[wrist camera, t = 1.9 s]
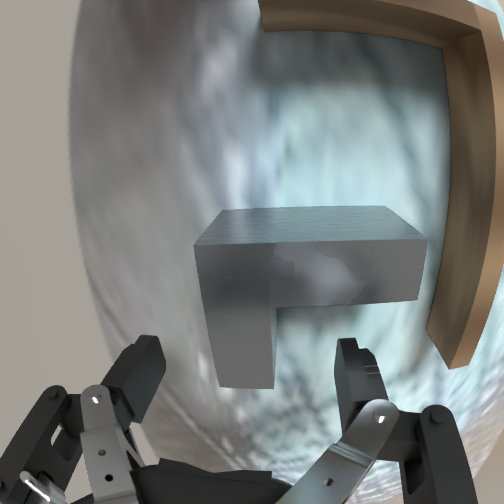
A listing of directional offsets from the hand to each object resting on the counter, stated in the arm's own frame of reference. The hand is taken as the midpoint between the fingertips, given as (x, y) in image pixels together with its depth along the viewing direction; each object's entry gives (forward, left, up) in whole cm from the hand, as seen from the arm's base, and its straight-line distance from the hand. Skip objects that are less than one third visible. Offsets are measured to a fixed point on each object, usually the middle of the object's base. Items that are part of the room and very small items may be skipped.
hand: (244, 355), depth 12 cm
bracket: (-2, +3, -5) cm, 6 cm away
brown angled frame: (-7, +7, -5) cm, 11 cm away
